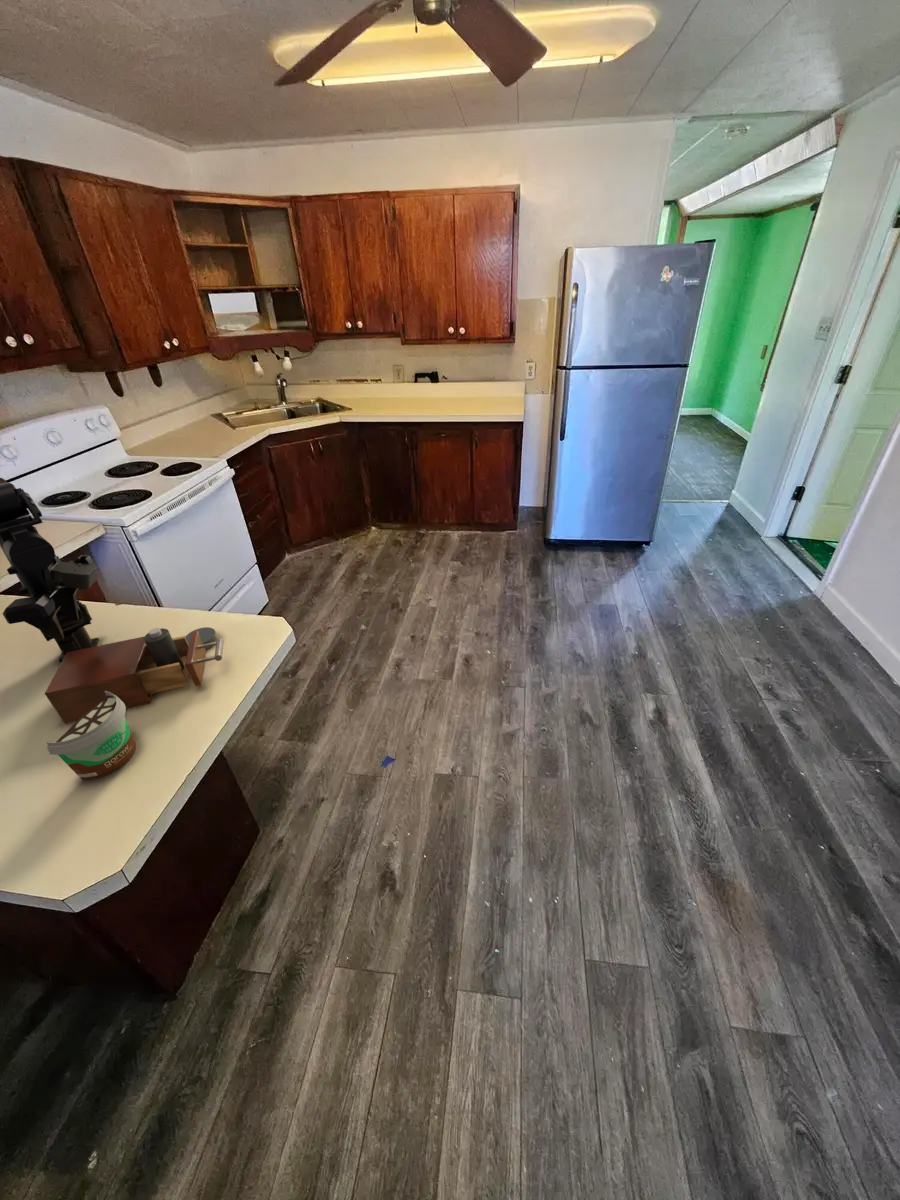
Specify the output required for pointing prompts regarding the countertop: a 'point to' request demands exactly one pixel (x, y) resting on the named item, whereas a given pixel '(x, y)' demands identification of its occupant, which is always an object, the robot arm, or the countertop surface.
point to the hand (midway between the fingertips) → (68, 629)
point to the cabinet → (98, 678)
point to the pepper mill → (162, 647)
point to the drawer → (178, 665)
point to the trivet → (204, 635)
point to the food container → (97, 740)
